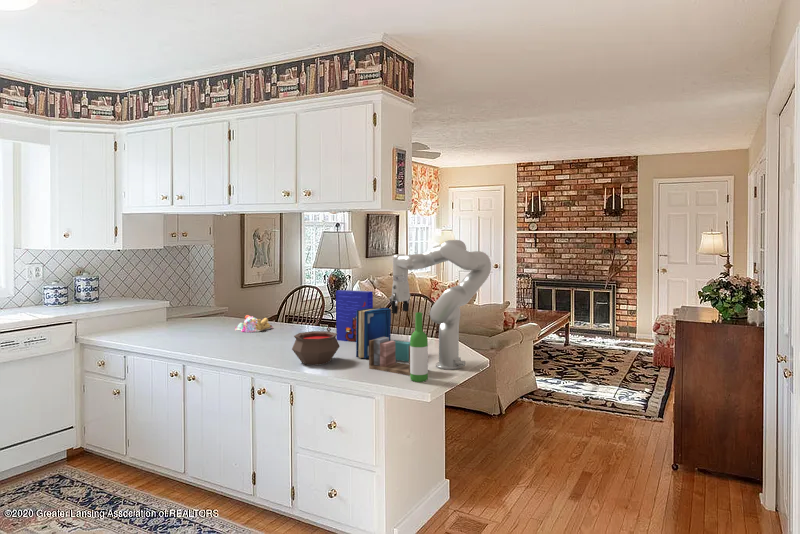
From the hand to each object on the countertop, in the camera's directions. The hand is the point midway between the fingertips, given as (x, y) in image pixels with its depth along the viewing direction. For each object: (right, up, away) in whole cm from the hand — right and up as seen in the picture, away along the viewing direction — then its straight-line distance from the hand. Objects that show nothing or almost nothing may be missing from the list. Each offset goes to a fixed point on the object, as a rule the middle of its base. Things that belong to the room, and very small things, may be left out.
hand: (400, 312), depth 287 cm
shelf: (-2, -26, -19) cm, 32 cm away
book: (-14, -24, +11) cm, 30 cm away
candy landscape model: (-98, -19, +91) cm, 135 cm away
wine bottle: (+8, -27, -38) cm, 48 cm away
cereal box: (-27, -21, +50) cm, 60 cm away
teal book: (0, -24, +1) cm, 24 cm away
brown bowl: (-42, -25, -2) cm, 49 cm away
